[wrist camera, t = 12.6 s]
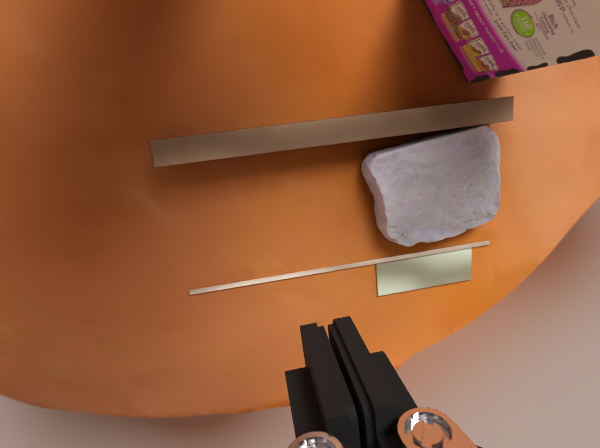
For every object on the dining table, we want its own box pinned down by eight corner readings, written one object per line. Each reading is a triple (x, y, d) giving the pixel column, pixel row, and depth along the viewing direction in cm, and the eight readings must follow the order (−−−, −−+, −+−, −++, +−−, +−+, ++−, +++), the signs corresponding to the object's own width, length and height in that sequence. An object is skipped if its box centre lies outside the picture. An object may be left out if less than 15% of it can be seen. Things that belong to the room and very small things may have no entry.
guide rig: (157, 139, 31) (149, 141, 29) (491, 98, 35) (513, 96, 32) (197, 326, 36) (193, 344, 33) (488, 275, 39) (507, 287, 36)
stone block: (478, 206, 39) (476, 111, 35) (507, 227, 35) (510, 122, 30) (370, 238, 39) (353, 147, 34) (387, 263, 35) (370, 163, 30)
